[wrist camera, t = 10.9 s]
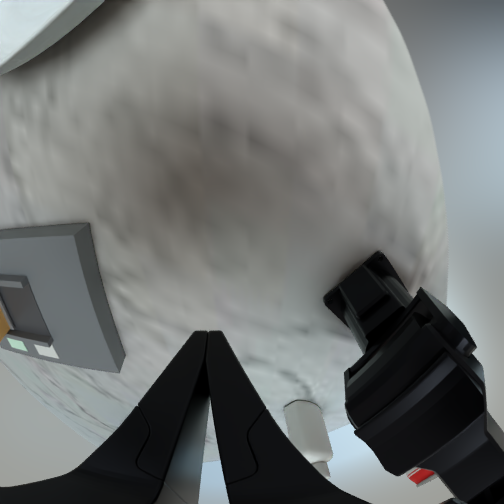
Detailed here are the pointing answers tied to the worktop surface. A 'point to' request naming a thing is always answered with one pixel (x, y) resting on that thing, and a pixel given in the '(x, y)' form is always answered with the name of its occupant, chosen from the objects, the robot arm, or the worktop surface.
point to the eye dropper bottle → (309, 434)
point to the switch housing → (57, 298)
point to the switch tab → (4, 320)
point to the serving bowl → (36, 26)
